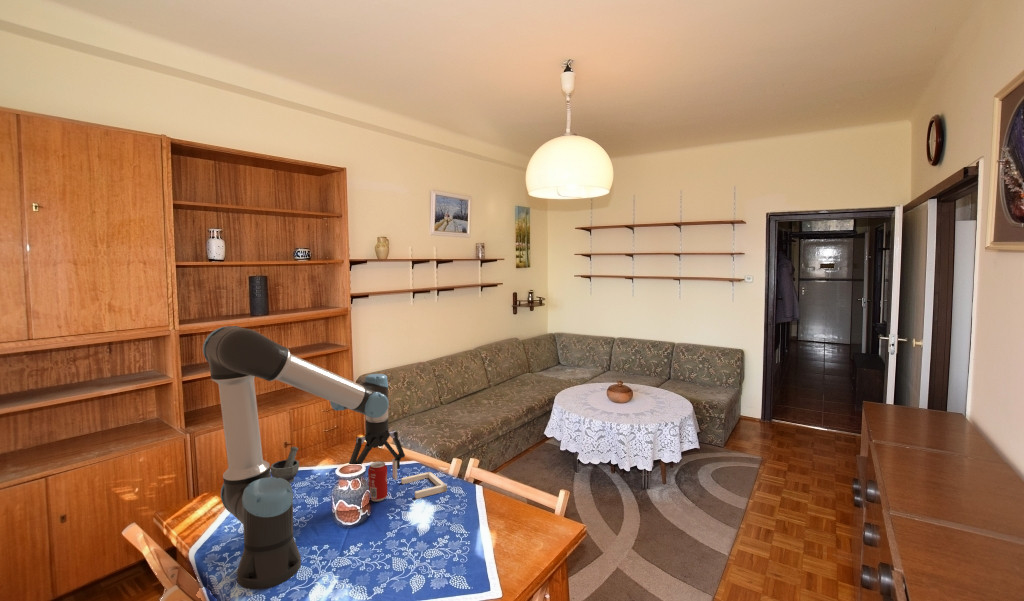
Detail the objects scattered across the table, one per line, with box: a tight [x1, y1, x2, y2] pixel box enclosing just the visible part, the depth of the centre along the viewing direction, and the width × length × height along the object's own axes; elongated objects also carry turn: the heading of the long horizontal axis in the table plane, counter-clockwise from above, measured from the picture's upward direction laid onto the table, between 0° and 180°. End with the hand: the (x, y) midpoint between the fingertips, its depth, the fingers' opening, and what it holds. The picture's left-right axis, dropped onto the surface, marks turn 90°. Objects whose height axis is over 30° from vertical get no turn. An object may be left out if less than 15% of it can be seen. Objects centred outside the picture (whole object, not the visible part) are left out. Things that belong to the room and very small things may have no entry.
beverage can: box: [367, 461, 388, 502], centre depth 167 cm, size 6×6×12 cm
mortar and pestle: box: [270, 446, 300, 484], centre depth 181 cm, size 11×9×12 cm
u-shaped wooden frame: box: [400, 471, 448, 500], centre depth 176 cm, size 15×12×2 cm
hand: (377, 482), depth 167 cm, fingers open, 11 cm apart
